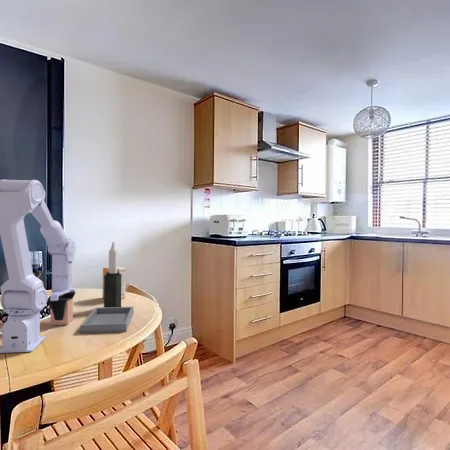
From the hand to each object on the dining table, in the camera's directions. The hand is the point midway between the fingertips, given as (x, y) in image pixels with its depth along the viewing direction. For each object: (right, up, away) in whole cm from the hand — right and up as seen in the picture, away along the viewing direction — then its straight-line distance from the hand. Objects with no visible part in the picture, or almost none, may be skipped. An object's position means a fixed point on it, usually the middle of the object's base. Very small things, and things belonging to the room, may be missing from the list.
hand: (61, 317), depth 105 cm
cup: (0, -2, 0) cm, 2 cm away
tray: (+15, -2, +1) cm, 15 cm away
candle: (+11, -2, +17) cm, 20 cm away
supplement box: (+6, -1, +30) cm, 31 cm away
